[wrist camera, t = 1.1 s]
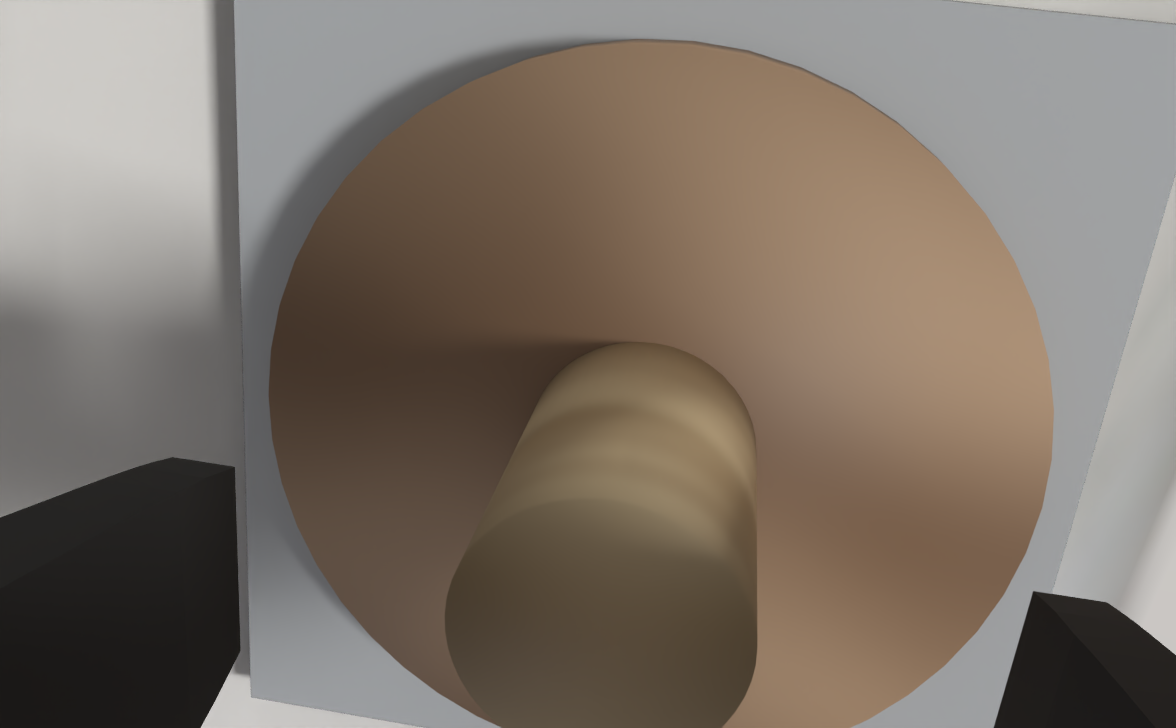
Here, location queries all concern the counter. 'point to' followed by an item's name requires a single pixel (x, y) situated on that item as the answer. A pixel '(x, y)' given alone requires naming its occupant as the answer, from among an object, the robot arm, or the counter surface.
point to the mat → (787, 33)
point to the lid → (661, 396)
